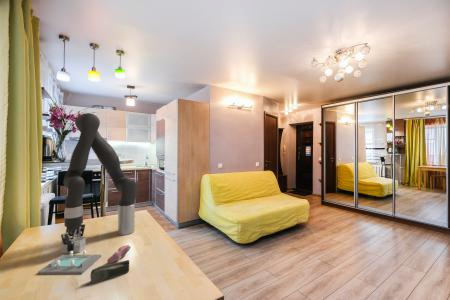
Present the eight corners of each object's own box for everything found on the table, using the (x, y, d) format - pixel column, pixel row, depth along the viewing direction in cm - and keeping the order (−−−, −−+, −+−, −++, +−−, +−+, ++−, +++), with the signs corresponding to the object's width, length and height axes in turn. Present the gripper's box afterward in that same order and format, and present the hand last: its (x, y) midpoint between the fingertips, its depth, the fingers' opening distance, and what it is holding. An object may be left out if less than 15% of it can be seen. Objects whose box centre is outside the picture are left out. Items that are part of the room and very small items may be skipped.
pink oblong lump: (113, 268, 89) (119, 255, 88) (105, 262, 90) (111, 249, 89) (128, 256, 98) (133, 244, 98) (120, 251, 99) (126, 239, 99)
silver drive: (67, 248, 103) (67, 236, 103) (85, 248, 103) (85, 236, 103) (61, 252, 99) (61, 240, 99) (80, 252, 99) (80, 240, 99)
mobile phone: (128, 258, 86) (86, 269, 77) (130, 261, 84) (86, 273, 75) (128, 269, 86) (86, 282, 77) (129, 273, 83) (86, 286, 75)
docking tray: (62, 256, 95) (62, 248, 95) (101, 256, 95) (101, 248, 95) (37, 274, 82) (37, 264, 82) (82, 273, 82) (82, 264, 82)
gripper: (70, 220, 94) (70, 256, 94) (90, 210, 108) (90, 242, 108) (54, 220, 94) (54, 256, 94) (76, 210, 108) (76, 242, 108)
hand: (73, 248), depth 101 cm, fingers closed on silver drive, 4 cm apart
